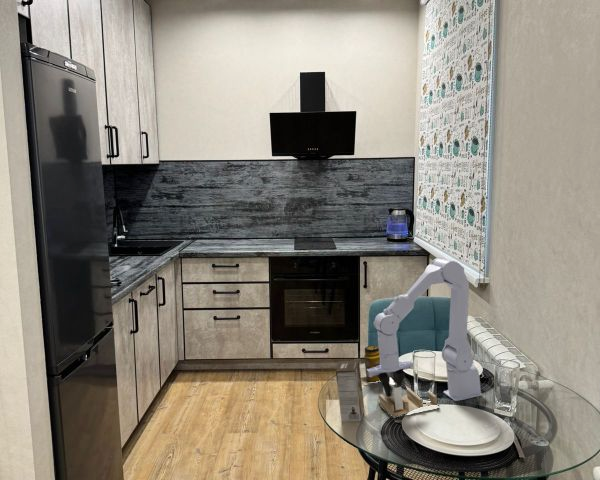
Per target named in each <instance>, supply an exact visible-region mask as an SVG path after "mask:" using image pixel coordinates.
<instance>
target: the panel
mask: <svg viewBox="0 0 600 480" xmlns="http://www.w3.org/2000/svg"><path fill="white" fill-rule="evenodd" d="M388 377H389V378H390V382H389V387H390V397H388V396H387V395H386V393H385V390H384V387H383V386H382V387H383V388H382V389H383V396H384V397H385V398H386V399H387V400H388V401H390V402H391V403H392V404H393V405H394V409H395V410H396V411H397V410H401V409H403V399H402V396H403V392H402V385H401V386H400V385H399V384H397V383H396V382H395V381H394V379H392V377H390V376H388Z"/></svg>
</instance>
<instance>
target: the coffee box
mask: <svg viewBox="0 0 600 480" xmlns="http://www.w3.org/2000/svg"><path fill="white" fill-rule="evenodd" d="M335 376H336V386H337V392H338V393H337V394H338V406H339V413H340V420H341V422H343V423H344V422H361V421H363V420H362V419H363V415H364V412H365V411H364V410H365V405H364V404H365V402H364V394H363V383H362V382H361V376H362V375H361V365H360V360H357V359H356V360H355V359H354V360H340V361H338V365H337V367H336V369H335Z"/></svg>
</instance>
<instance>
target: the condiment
mask: <svg viewBox="0 0 600 480" xmlns="http://www.w3.org/2000/svg"><path fill="white" fill-rule="evenodd" d="M363 358H364V367H365V368H364V369H365V376H363V377H361V383H362V385H364V386H369V385H372V384H371V383H368V382H376V381H379V380H380V379H379V377H378V376H377V375H375V376H373V377H369V376H368V375H367V369H371V368H374V367H376V366H379V365H380V355H379V345H367V346H366V347H364V357H363Z"/></svg>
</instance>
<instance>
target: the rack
mask: <svg viewBox="0 0 600 480" xmlns="http://www.w3.org/2000/svg"><path fill="white" fill-rule="evenodd" d="M405 391H406V394H404V395H402V399H403V409H401V410H397V411H396V410H395V409H394V405H393V404H392V403H391V402H390V401H388V400H387V399H386V398H385V397H384V394H382V393H380V394H378V399H379V400H377V404H378V403H379V404H380V405H381V406H382V407H383V408H384V409H385V410H386V411H387V412H388V413H389V414H390V415H392V416H397V415H402V414H406V413H408V412H410V411H412V410H414V409H417V408H420V407H424V406H428V405H437V404H438V398H437V395H436V394H435V393H433V392H432V393H428V394H429V399H430V401H431V402H430V403H426V404H423V400H422V398H420V397H419V396H418V395H417V394H415V393H416V392H414V391H413V390H412V389H410V388H406V390H405ZM379 404H378V405H379ZM380 405H379V406H380ZM381 406H380V407H381ZM382 407H381V408H382ZM383 408H382V409H383ZM384 409H383V410H384ZM385 410H384V411H385ZM386 411H385V412H386ZM387 412H386V413H387ZM388 413H387V414H388ZM389 414H388V415H389ZM390 415H389V416H390Z"/></svg>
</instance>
